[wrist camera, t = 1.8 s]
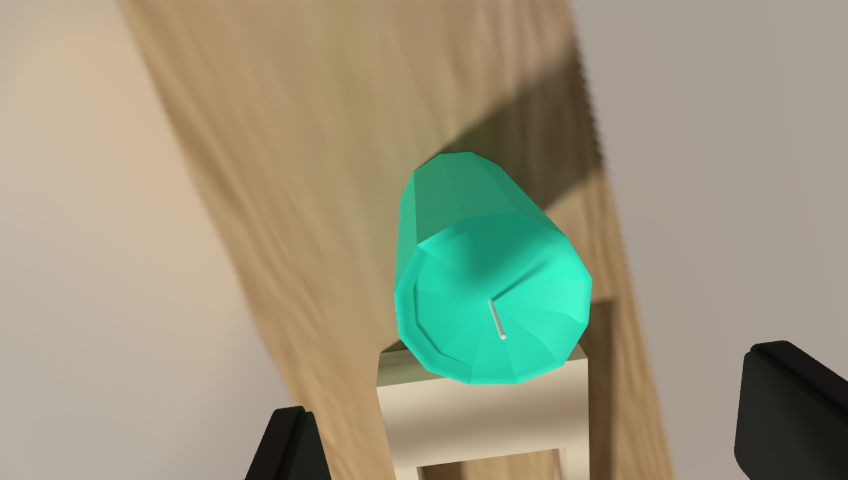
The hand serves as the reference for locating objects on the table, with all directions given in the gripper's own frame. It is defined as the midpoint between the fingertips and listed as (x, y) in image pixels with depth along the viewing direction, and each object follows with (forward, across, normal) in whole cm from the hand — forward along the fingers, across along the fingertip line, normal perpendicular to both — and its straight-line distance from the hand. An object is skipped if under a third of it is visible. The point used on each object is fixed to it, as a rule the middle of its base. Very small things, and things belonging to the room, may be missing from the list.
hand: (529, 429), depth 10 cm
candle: (+15, 0, -1) cm, 15 cm away
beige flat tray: (+15, 0, +17) cm, 23 cm away
